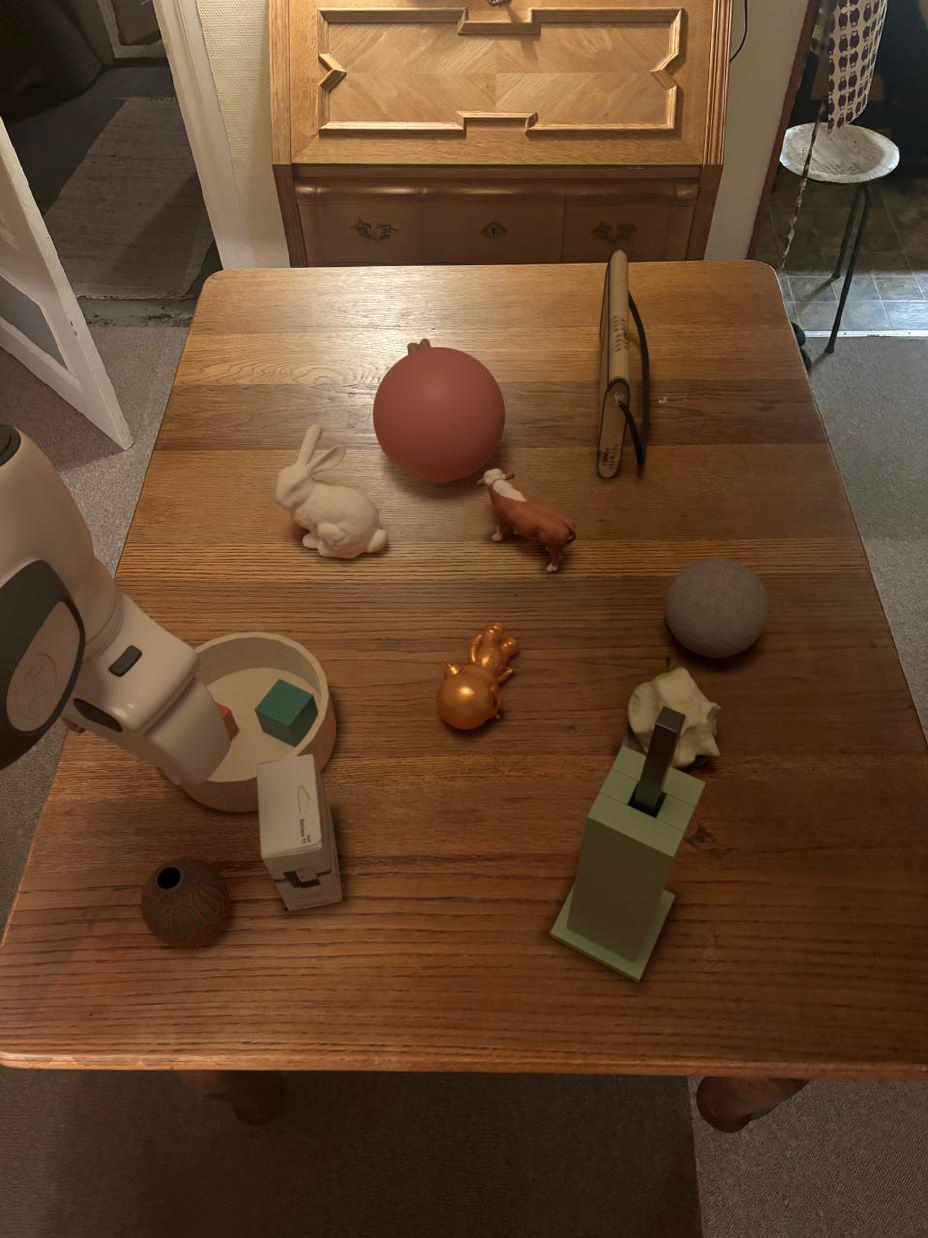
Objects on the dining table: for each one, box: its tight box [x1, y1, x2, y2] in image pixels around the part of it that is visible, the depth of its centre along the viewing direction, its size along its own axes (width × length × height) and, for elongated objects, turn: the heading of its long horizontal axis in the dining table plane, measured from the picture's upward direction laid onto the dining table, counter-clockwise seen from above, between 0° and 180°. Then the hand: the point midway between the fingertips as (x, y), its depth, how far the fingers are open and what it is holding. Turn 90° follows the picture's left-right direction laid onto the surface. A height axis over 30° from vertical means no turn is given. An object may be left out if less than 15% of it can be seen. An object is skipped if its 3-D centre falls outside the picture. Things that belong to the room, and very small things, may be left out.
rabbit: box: [274, 423, 389, 559], centre depth 101 cm, size 12×9×12 cm
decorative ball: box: [664, 557, 770, 659], centre depth 91 cm, size 10×10×10 cm
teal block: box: [255, 679, 318, 747], centre depth 88 cm, size 4×4×4 cm
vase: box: [140, 856, 231, 949], centre depth 75 cm, size 7×7×9 cm
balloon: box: [372, 338, 506, 483], centre depth 108 cm, size 15×20×15 cm
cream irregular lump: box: [618, 656, 722, 770], centre depth 86 cm, size 9×9×8 cm
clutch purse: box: [596, 246, 651, 479], centre depth 112 cm, size 30×7×15 cm, turn 174°
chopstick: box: [632, 706, 686, 817], centre depth 59 cm, size 1×1×18 cm
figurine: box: [435, 621, 520, 730], centre depth 90 cm, size 8×6×12 cm
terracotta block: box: [216, 702, 239, 742], centre depth 87 cm, size 4×4×4 cm
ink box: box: [257, 754, 343, 912], centre depth 77 cm, size 9×5×12 cm, turn 10°
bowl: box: [178, 631, 337, 813], centre depth 87 cm, size 16×17×6 cm
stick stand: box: [549, 746, 707, 984], centre depth 69 cm, size 8×8×22 cm
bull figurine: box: [476, 468, 577, 573], centre depth 101 cm, size 4×13×8 cm, turn 46°
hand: (128, 748), depth 69 cm, fingers open, 8 cm apart
